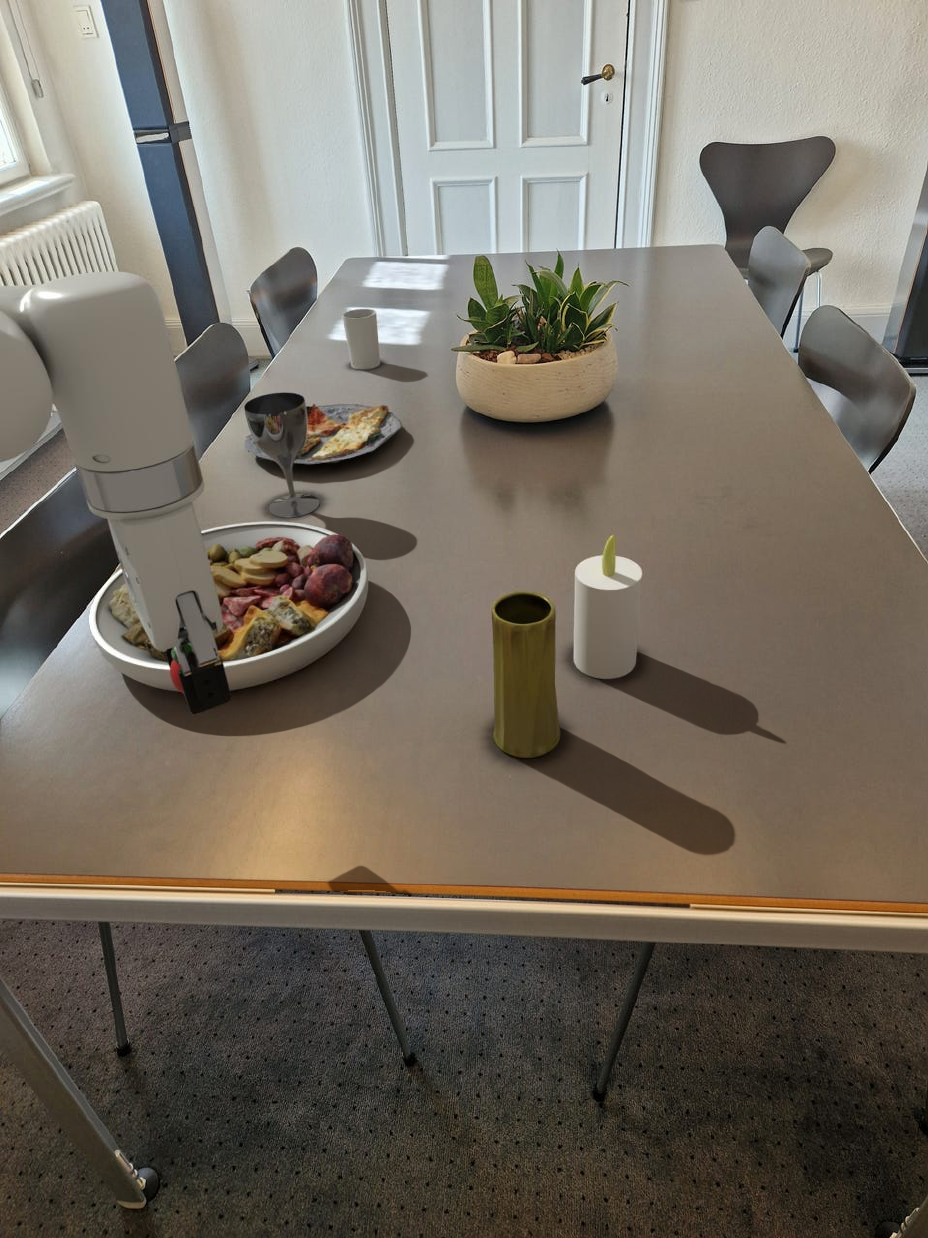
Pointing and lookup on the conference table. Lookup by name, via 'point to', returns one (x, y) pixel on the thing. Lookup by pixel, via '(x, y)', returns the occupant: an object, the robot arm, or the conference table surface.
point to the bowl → (251, 604)
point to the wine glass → (282, 443)
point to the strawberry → (178, 667)
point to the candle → (606, 614)
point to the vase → (524, 674)
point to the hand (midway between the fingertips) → (201, 688)
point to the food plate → (340, 432)
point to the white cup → (362, 338)
